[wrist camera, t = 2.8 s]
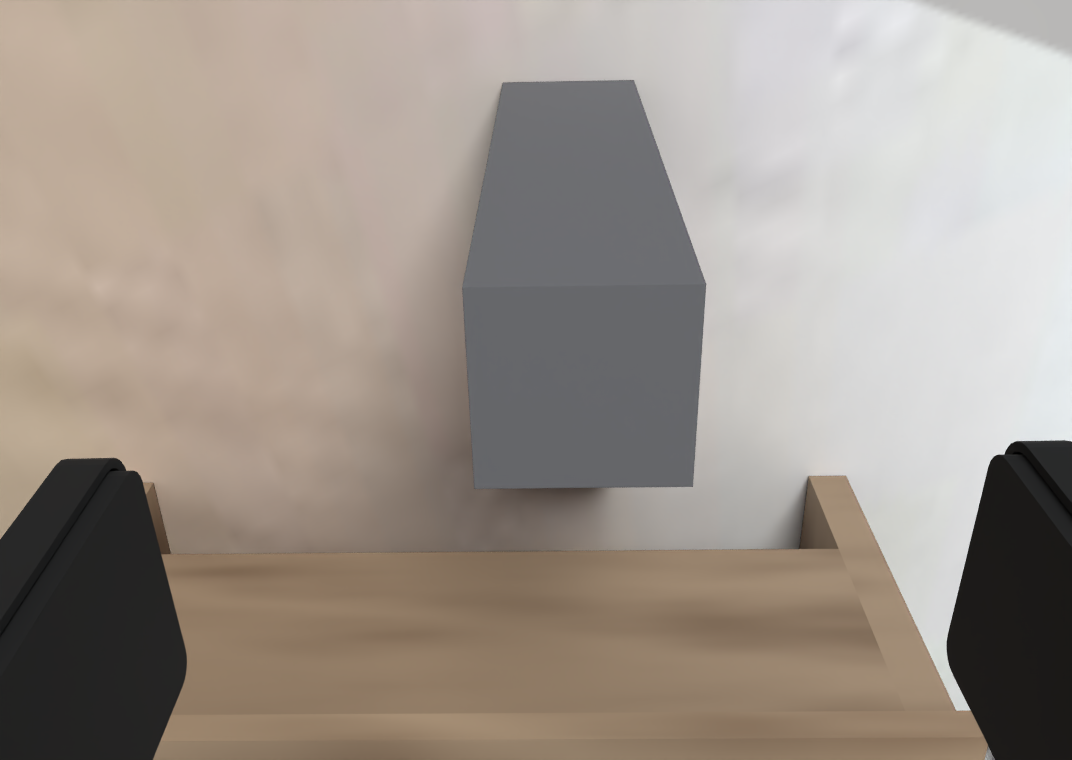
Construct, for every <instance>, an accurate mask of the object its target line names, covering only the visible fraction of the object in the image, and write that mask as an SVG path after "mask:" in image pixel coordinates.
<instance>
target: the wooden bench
mask: <svg viewBox="0 0 1072 760" xmlns="http://www.w3.org/2000/svg"><path fill="white" fill-rule="evenodd" d="M143 485H144V489H145V493H146V497H147V501H148V505H149V509H150V512H151V516H152V520H153V524H154V528H155V532H156V536H157V540H158V543H159V547H160V551H161V555H162V559H163V563H164V567H165V571H166V574H167V578H168V582H169V586H170V590H171V594H172V598H173V602H174V605H175V609H176V613H177V617H178V621H179V625H180V629H181V633H182V636H183V640H184V644H185V648H186V654H187V670H186V676H185V681H184V684H183V687H182V689H181V692H180V694H179V697H178V699H177V702H176V704H175V706H174V709H173V711H172V714H171V716H170V719H169V721H168V724H167V726H166V729H165V731H164V733H163V736H162V738H161V741H160V743H159V746H158V748H157V751H156V753H155V756H154V758H153V760H984V759H985V755H986V751H987V748H988V744H987V742H986V740H985V738H984V736H983V734H982V732H981V730H980V728H979V726H978V724H977V722H976V720H975V718H974V716H973V714H972V712H971V711H956V710H955V707H954V705H953V703H952V701H951V699H950V697H949V695H948V692H947V690H946V688H945V686H944V684H943V682H942V680H941V678H940V675H939V673H938V671H937V669H936V667H935V665H934V663H933V660H932V658H931V656H930V654H929V652H928V650H927V648H926V646H925V643H924V641H923V639H922V637H921V635H920V633H919V631H918V628H917V626H916V624H915V622H914V620H913V618H912V616H911V614H910V611H909V609H908V607H907V605H906V603H905V601H904V599H903V597H902V594H901V592H900V590H899V588H898V586H897V584H896V582H895V579H894V577H893V575H892V573H891V571H890V569H889V567H888V565H887V562H886V560H885V558H884V556H883V554H882V552H881V550H880V547H879V545H878V543H877V541H876V539H875V537H874V535H873V533H872V530H871V528H870V526H869V524H868V522H867V520H866V518H865V516H864V513H863V511H862V509H861V507H860V505H859V503H858V501H857V498H856V496H855V494H854V492H853V490H852V488H851V486H850V484H849V481H848V479H847V477H846V476H809V479H808V487H807V495H806V502H805V510H804V517H803V525H802V533H801V540H800V548H799V549H747V550H630V551H514V552H397V553H280V554H171V553H170V549H169V545H168V541H167V537H166V533H165V529H164V525H163V521H162V516H161V512H160V508H159V504H158V500H157V496H156V492H155V488H154V484H153V483H143Z"/></svg>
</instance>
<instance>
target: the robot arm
mask: <svg viewBox="0 0 1072 760" xmlns="http://www.w3.org/2000/svg"><path fill="white" fill-rule="evenodd" d="M947 656H948V661H949V665H950V668H951V671H952V673H953V676H954V678H955V680H956V682H957V684H958V686H959V688H960V690H961V692H962V694H963V696H964V698H965V700H966V702H967V704H968V706H969V708H970V710H971V712H972V714H973V716H974V718H975V720H976V722H977V724H978V726H979V728H980V730H981V732H982V734H983V736H984V738H985V740H986V742H987V744H988V746H989V748H990V750H991V752H992V754H993V756H994V758H995V760H1072V442H1071V441H1065V440H1063V441H1016V442H1014V443H1012V444H1010V446H1009V447H1008V448H1007V450H1006V452H1005V455H996V456H994V457H993V459H992V460H991V462H990V464H989V467H988V471H987V475H986V479H985V483H984V488H983V492H982V496H981V500H980V504H979V508H978V512H977V517H976V521H975V525H974V529H973V533H972V537H971V541H970V546H969V550H968V554H967V558H966V562H965V566H964V570H963V574H962V579H961V583H960V587H959V591H958V595H957V599H956V603H955V608H954V612H953V616H952V620H951V624H950V628H949V632H948V637H947ZM186 670H187V654H186V648H185V644H184V640H183V636H182V633H181V629H180V625H179V621H178V617H177V613H176V609H175V605H174V602H173V598H172V594H171V590H170V586H169V582H168V578H167V574H166V571H165V567H164V563H163V559H162V555H161V551H160V547H159V543H158V540H157V536H156V532H155V528H154V524H153V520H152V516H151V512H150V509H149V505H148V501H147V497H146V493H145V489H144V485H143V482H142V479H141V477H140V475H139V474H138V472H135V471H126V469H125V466H124V465H123V464H122V462H121V461H120V460H118V459H116V458H91V459H65V460H61V461H60V462H59V463H58V464H57V465H56V466H55V467H54V468H53V470H52V471H51V472H50V474H49V475H48V476H47V478H46V479H45V480H44V482H43V483H42V484H41V486H40V487H39V488H38V490H37V491H36V493H35V494H34V495H33V497H32V498H31V499H30V501H29V502H28V503H27V505H26V506H25V507H24V509H23V510H22V511H21V513H20V514H19V515H18V517H17V518H16V519H15V521H14V522H13V523H12V525H11V526H10V527H9V529H8V530H7V531H6V533H5V534H4V535H3V537H2V538H1V539H0V760H153V758H154V756H155V753H156V751H157V748H158V746H159V743H160V741H161V738H162V736H163V733H164V731H165V729H166V726H167V724H168V721H169V719H170V716H171V714H172V711H173V709H174V706H175V704H176V702H177V699H178V697H179V694H180V692H181V689H182V687H183V684H184V681H185V676H186Z"/></svg>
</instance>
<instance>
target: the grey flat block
mask: <svg viewBox="0 0 1072 760" xmlns="http://www.w3.org/2000/svg"><path fill="white" fill-rule="evenodd" d="M462 290H463V307H464V324H465V341H466V357H467V374H468V391H469V407H470V424H471V441H472V457H473V474H474V489H508V488H612V487H693V475H694V460H695V445H696V430H697V414H698V399H699V384H700V369H701V354H702V338H703V323H704V308H705V293H706V283H705V280H704V277H703V274H702V271H701V269H700V266H699V263H698V260H697V257H696V254H695V252H694V249H693V246H692V243H691V240H690V237H689V235H688V232H687V229H686V226H685V223H684V221H683V218H682V215H681V212H680V209H679V206H678V204H677V201H676V198H675V195H674V192H673V190H672V187H671V184H670V181H669V178H668V175H667V173H666V170H665V167H664V164H663V161H662V159H661V156H660V153H659V150H658V147H657V144H656V142H655V139H654V136H653V133H652V130H651V127H650V125H649V122H648V119H647V116H646V113H645V111H644V108H643V105H642V102H641V99H640V96H639V94H638V91H637V88H636V85H635V82H634V80H619V81H563V82H508V83H503V85H502V90H501V95H500V100H499V105H498V110H497V115H496V120H495V125H494V130H493V135H492V140H491V145H490V150H489V155H488V161H487V166H486V171H485V176H484V181H483V186H482V191H481V196H480V201H479V206H478V211H477V216H476V221H475V226H474V231H473V236H472V241H471V246H470V251H469V256H468V261H467V267H466V272H465V277H464V282H463V287H462Z"/></svg>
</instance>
